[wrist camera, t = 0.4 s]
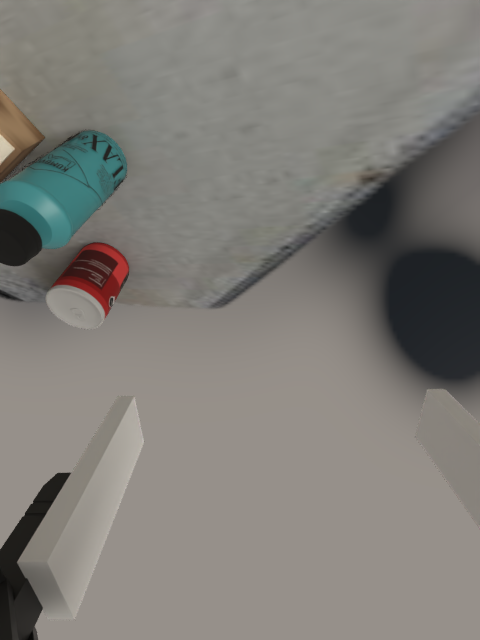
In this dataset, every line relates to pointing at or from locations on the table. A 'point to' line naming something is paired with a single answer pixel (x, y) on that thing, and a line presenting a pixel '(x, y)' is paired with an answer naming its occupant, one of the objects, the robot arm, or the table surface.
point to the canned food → (88, 286)
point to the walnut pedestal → (14, 136)
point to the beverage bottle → (57, 195)
